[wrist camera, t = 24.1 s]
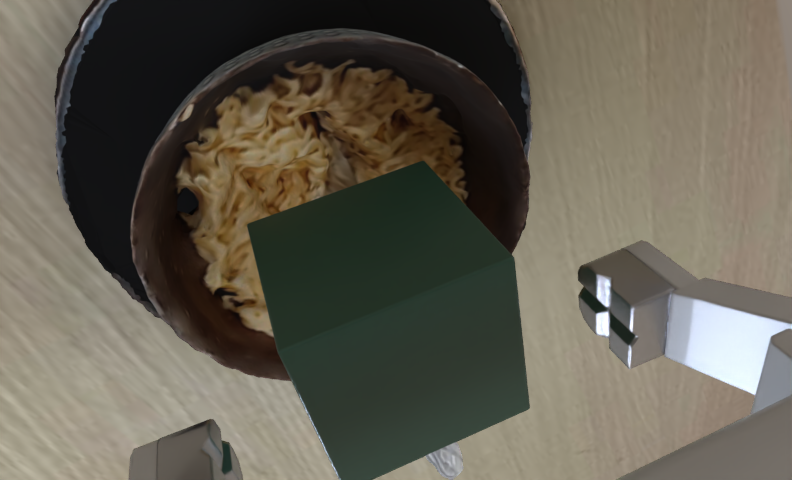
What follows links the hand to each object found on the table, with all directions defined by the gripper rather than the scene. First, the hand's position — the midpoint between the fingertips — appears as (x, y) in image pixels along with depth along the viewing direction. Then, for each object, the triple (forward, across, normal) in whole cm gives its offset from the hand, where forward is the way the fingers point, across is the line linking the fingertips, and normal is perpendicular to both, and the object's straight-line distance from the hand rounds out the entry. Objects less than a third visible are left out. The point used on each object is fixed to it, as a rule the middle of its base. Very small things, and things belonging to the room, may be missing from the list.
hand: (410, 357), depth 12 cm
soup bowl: (+10, 0, 0) cm, 10 cm away
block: (+4, 0, 0) cm, 4 cm away
